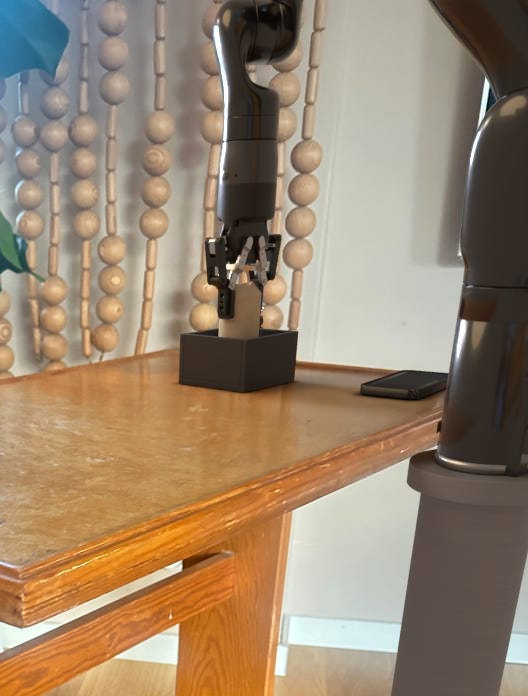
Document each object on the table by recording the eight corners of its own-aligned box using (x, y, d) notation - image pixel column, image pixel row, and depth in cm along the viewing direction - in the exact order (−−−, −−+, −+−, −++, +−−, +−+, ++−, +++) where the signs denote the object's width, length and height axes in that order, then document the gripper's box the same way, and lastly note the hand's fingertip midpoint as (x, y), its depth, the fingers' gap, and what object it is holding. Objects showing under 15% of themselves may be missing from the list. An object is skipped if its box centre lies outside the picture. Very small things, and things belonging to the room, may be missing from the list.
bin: (294, 381, 130) (298, 331, 128) (244, 392, 124) (247, 340, 121) (229, 373, 138) (231, 325, 136) (178, 383, 132) (179, 333, 129)
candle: (251, 353, 132) (255, 279, 128) (262, 359, 127) (267, 282, 123) (213, 355, 132) (216, 281, 128) (222, 361, 127) (226, 283, 123)
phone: (357, 385, 120) (404, 369, 129) (356, 393, 120) (403, 377, 130) (417, 390, 115) (461, 373, 125) (416, 400, 115) (460, 382, 125)
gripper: (236, 179, 113) (228, 323, 120) (303, 179, 122) (293, 313, 129) (189, 182, 118) (184, 320, 125) (257, 181, 127) (249, 311, 134)
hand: (239, 316), depth 127 cm, fingers closed on candle, 5 cm apart
